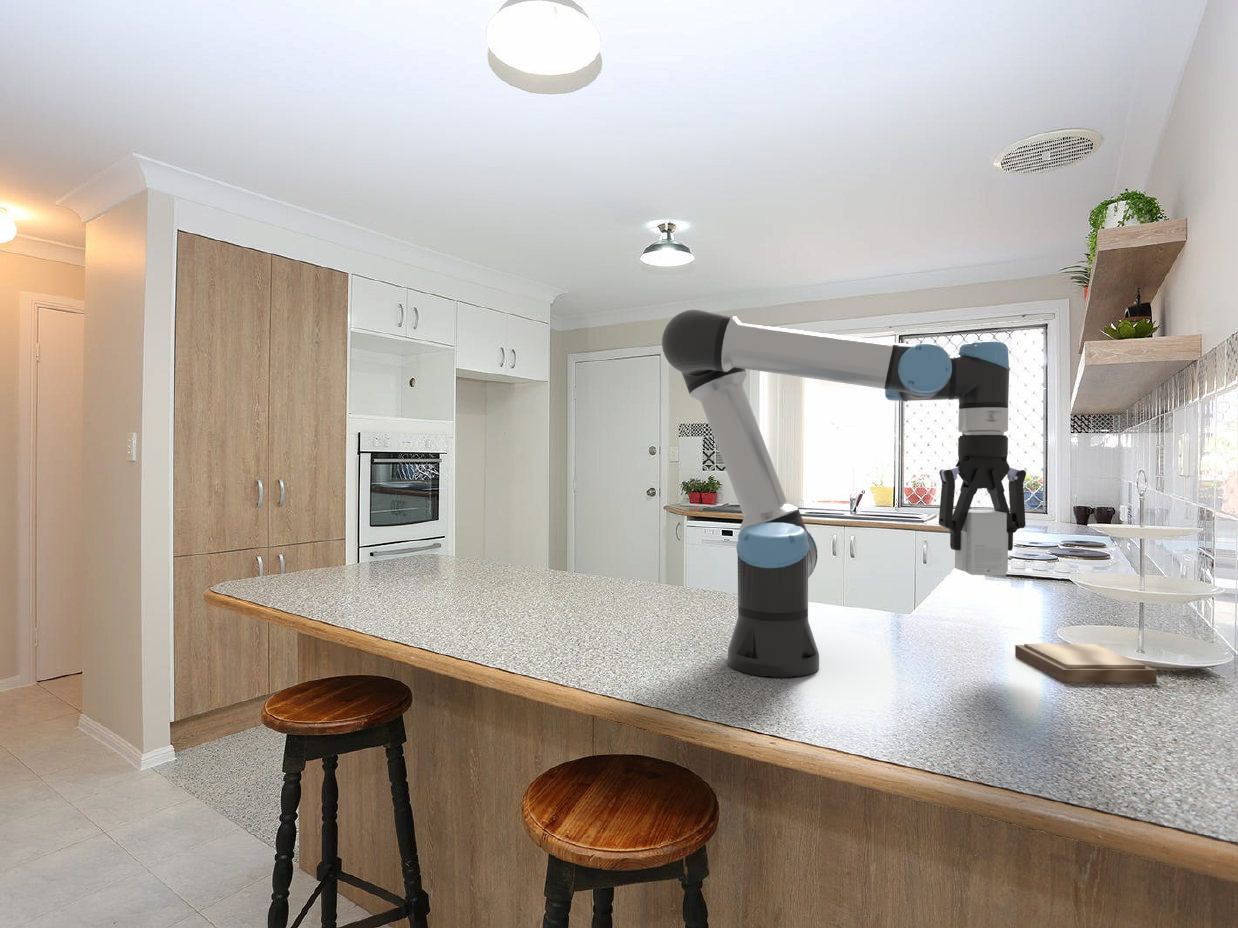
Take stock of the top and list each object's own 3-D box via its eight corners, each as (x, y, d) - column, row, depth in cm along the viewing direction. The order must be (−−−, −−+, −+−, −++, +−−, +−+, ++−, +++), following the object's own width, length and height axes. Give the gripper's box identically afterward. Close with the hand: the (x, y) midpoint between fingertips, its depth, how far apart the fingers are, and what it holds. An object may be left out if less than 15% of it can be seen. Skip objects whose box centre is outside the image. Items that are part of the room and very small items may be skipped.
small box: (1007, 576, 114) (1008, 512, 114) (970, 575, 115) (971, 512, 115) (990, 568, 122) (991, 509, 122) (956, 567, 123) (957, 508, 123)
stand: (1063, 682, 107) (1063, 666, 107) (1015, 656, 121) (1015, 642, 121) (1156, 682, 107) (1156, 666, 107) (1097, 656, 121) (1097, 642, 121)
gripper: (935, 433, 115) (933, 572, 115) (1053, 433, 114) (1050, 574, 114) (917, 434, 122) (915, 565, 123) (1027, 434, 122) (1025, 566, 122)
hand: (980, 569), depth 119 cm, fingers closed on small box, 6 cm apart
